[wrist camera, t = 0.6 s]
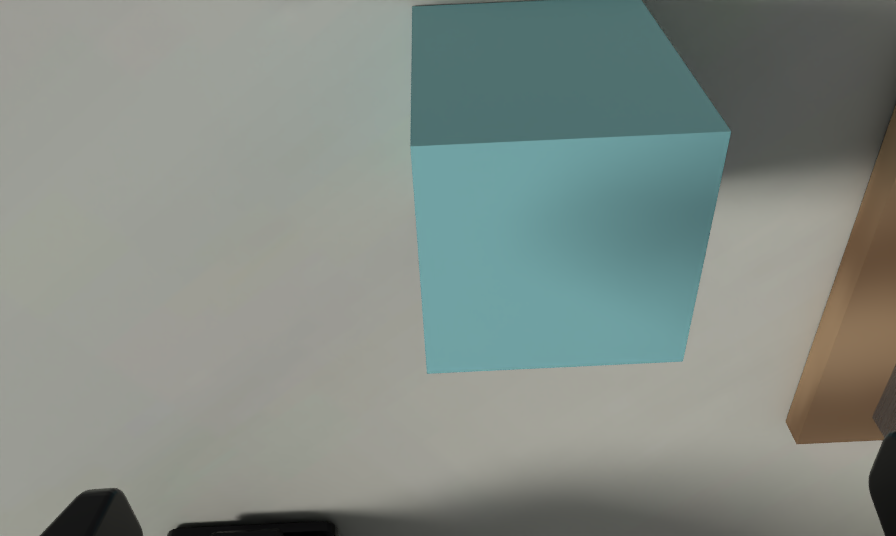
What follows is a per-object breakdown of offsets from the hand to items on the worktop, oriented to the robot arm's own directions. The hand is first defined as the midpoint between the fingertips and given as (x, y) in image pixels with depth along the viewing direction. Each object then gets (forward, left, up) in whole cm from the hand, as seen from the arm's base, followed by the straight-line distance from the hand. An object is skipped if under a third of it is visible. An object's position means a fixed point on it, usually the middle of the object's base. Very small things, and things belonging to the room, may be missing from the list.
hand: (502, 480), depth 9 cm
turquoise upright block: (-1, -2, -12) cm, 12 cm away
